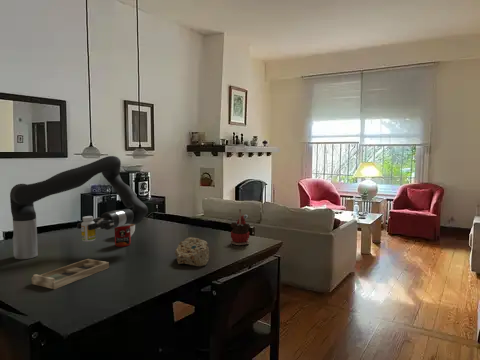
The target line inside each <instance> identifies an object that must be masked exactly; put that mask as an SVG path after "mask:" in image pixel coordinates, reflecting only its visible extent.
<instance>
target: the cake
mask: <svg viewBox="0 0 480 360" xmlns="http://www.w3.org/2000/svg"><path fill="white" fill-rule="evenodd" d="M238 211H239V213H238V217H239V218H238V219H237V221H236V222H235V221H232V222H231V223H230V227H231V228H232V229H231V231H230V238H231V240H230V243H231V244H232V245H237V246H244V245H248V244H250V240H249V239H250V231H249V229H251V225H249V223H247V222H246V219H248V218H249V216H248V214H243V215H242V209H241V208H239V209H238Z"/></svg>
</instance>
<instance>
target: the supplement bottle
mask: <svg viewBox="0 0 480 360" xmlns="http://www.w3.org/2000/svg"><path fill="white" fill-rule="evenodd" d="M93 219H94V216H92V215H87V216H82V221H83V222H82V221H81V222H80V223H81V231H80V232H81V240H82V242H93V241H95V240H96V239H97V236H96V235H97V234H96V229H93V230H88V225H89V224H93V223H95V222H94V221H93Z"/></svg>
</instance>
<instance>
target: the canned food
mask: <svg viewBox="0 0 480 360" xmlns="http://www.w3.org/2000/svg"><path fill="white" fill-rule="evenodd" d="M131 237H132V236H131V235H130V224H125V225H122V226H120V227H116V228H114V244H115V247H121V248H123V247H128V246H130V245H131V243H132V242H131V241H132V240H131Z"/></svg>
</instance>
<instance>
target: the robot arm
mask: <svg viewBox="0 0 480 360" xmlns="http://www.w3.org/2000/svg"><path fill="white" fill-rule="evenodd" d="M121 164H122V163H121V159H120V158H119V157H118V156H114V155H108V156H105V157H102V158H100V159H97V160H95V161H93V162H90V163H87V164H84V165H81V166H78V167H75V168H71V169H68V170H64V171H61V172H59V173H56V174H55V175H52V176H51V177H48V178H47V179H45V180H42V181H38V182H33V183H29V184H26V183H18V184H15V185H14V186H13V187H12V188H11V189H10V192H9V199H10V201H9V202H10V212H11V216H12V230H13V231H12V232H13V236H12V250H13V252H12V253H13V258H14V259H15V260H27V259H29V260H30V259H33V258H36V257H38V255H39V253H38V252H39V251H38V229H37V227H38V226H37V213H36V210H35V206H34V203H36V202H38V201H39V200H42V199H44V198H47V197H50V196H53V195H57V194H61V193H65V192H67V191H71V190H73V189H77V188H79V187H81V186H83V185H85V184H87V182H89V181H90V180H91V179H92V178H93V177H94V178H95V176H97V175H98V174H102V176H103V178H104V179H105V180H106V181H107V182H108V183H109V184H110V185H111V187H112V189H114V190H115V192H116V193H117V195H118V197H119V198H120V200H121V201H122V203H123V205H124V206H125V208H124V209H117V210H111V211H107V212H103V213H102V214H101V215H100V216H99V217H96V218H93V221H94V222H95V223H93V224H89V225H88V230H93V229H95V230H103V229H104V230H112V229H115V228H116V227H120V226H122V225H125V224H135V225H138V224H140V223H141V222H142V221H143V220H144V219H145V217H146V216H147V215H148V213H149V208H148V206H147V205H146V204H145V203H144V202H143V201H142V200H140V199H139V197H137V195H136V193H135V192H134V189H132V187H131V186H129V185H128V184H126V183H125V182H124V181H123V179H122V178H121V175H120V174H121V173H120V172H121V166H122V165H121ZM130 208H131V209H130ZM82 222H83V220H81V222H78V223H77V224H76V228H77V230H79V229H81V223H82Z"/></svg>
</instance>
